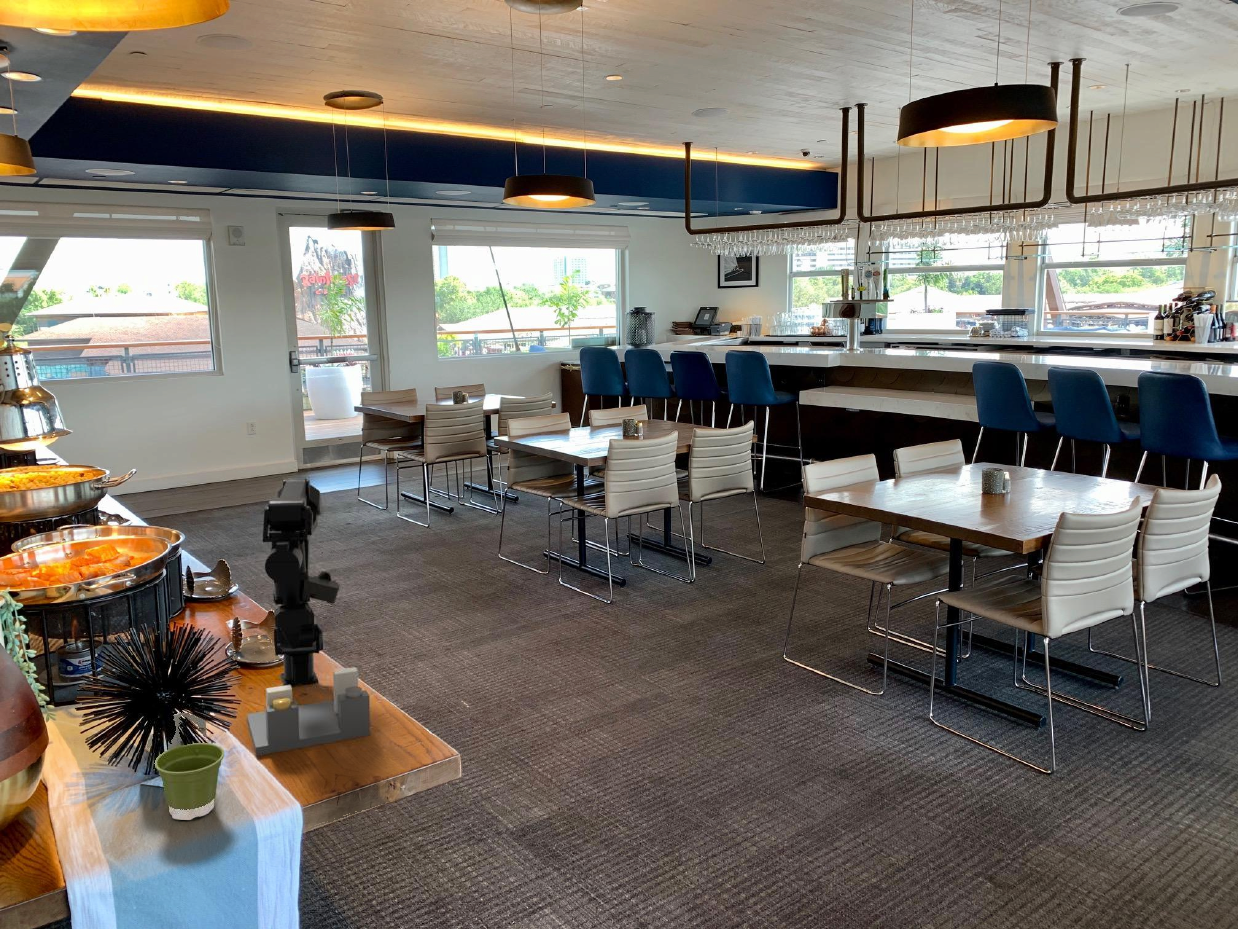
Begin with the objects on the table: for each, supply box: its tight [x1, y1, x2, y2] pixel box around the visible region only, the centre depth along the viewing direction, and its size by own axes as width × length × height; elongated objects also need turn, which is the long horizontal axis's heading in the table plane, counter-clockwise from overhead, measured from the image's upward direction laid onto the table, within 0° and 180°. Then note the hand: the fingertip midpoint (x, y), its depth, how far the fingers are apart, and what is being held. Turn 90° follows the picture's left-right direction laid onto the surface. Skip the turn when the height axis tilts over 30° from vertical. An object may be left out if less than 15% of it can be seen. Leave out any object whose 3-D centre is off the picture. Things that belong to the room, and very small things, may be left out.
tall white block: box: [265, 685, 293, 706], centre depth 159 cm, size 2×4×8 cm, turn 117°
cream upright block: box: [332, 666, 359, 714], centre depth 168 cm, size 2×4×8 cm, turn 118°
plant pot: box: [154, 742, 225, 810], centre depth 137 cm, size 9×9×9 cm
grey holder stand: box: [246, 686, 371, 757], centre depth 164 cm, size 14×19×8 cm
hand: (294, 648), depth 171 cm, fingers closed
